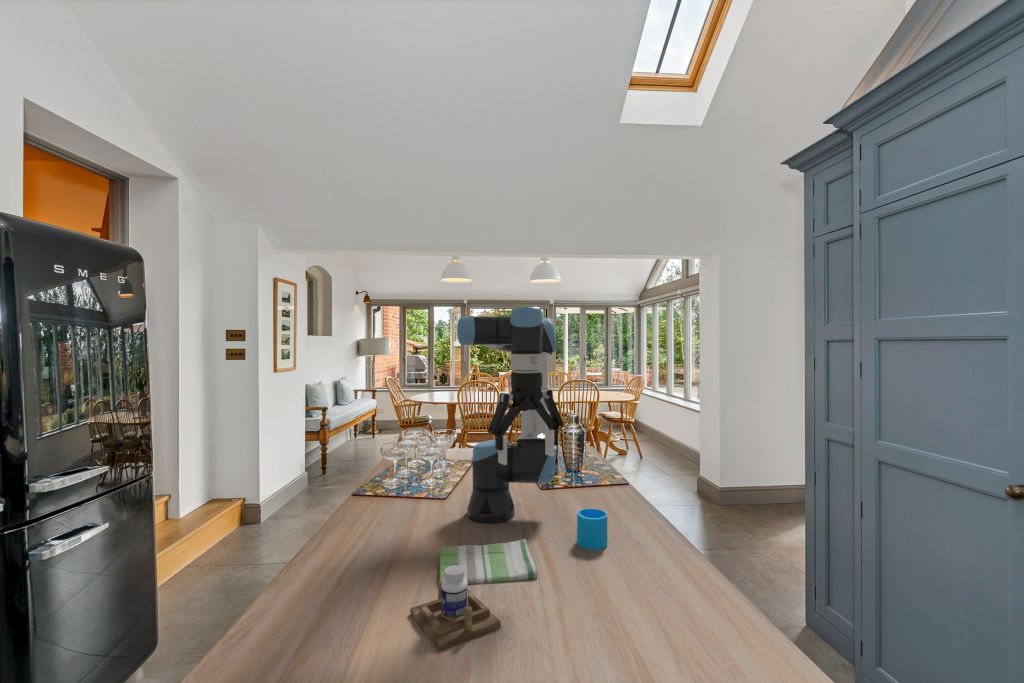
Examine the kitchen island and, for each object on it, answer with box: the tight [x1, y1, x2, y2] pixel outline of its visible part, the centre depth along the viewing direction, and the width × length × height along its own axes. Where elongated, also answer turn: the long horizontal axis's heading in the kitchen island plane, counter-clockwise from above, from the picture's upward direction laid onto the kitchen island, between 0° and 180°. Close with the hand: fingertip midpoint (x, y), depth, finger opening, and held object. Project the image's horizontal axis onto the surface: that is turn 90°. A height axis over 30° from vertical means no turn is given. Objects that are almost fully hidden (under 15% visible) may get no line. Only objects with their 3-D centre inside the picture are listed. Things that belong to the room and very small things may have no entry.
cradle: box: [409, 579, 502, 652], centre depth 97 cm, size 14×13×5 cm
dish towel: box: [438, 538, 539, 585], centre depth 120 cm, size 17×23×4 cm
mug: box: [576, 508, 608, 551], centre depth 135 cm, size 12×8×8 cm
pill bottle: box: [441, 566, 469, 621], centre depth 97 cm, size 5×5×9 cm
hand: (526, 459), depth 117 cm, fingers open, 13 cm apart
